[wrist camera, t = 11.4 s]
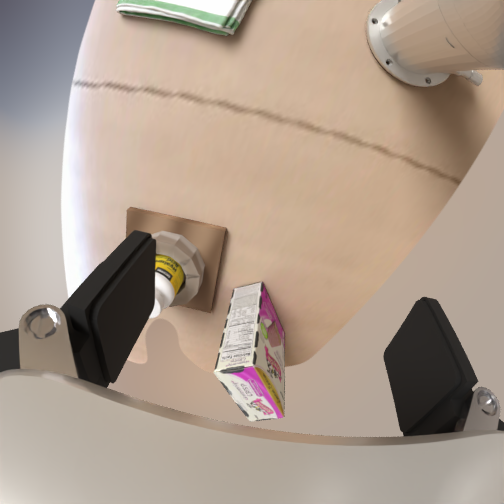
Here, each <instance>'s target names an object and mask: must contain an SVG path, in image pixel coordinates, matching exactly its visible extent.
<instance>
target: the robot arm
mask: <svg viewBox="0 0 504 504" xmlns="http://www.w3.org/2000/svg"><path fill="white" fill-rule="evenodd" d="M372 22H374V24H373V23H372ZM366 35H367V40H368V43H369V46H370V49H371V51H372V52H373V54H374V56H375V58H376V59H377V60H378V62H379V63H380V64H381V66H382V67H383V68H384V69H385V70H386V71H387V72H389V73H390V74H391V75H393V76H394V77H395V78H397V79H399V80H400V81H402V82H404V83H407V84H410V85H412V86H419V87H429V86H435V85H438V84H440V83H442V82H444V81H445V80H446V79H447V78H448V77H449V76H450V75H451V74H455V75H457V76H461V75H462V76H463V77H465V78H466V79H467V80H468V81H470V82H471V83H473V84H474V85H476V86H479V85H480V84H481V83H482V79H483V77H482V75H481V74H480V73H479V72H477V71H476V70H497V69H499V70H504V0H381V1H380V2H379V3H377V4H376V5H375V6H374V7H373V8H372V9H371V11H370V13H369V15H368V18H367V21H366ZM386 61H387V62H388V65H387V64H386ZM425 79H426V81H425ZM155 267H156V239H153V238H152V235H151V233H147V232H142V231H138V230H134V231H133V232H132V233H131V234H130V235H129V236H128V237H127V238H126V239H125V240H124V241H123V242H122V243H121V244H120V245H119V246H118V247H117V248H116V249H115V250H114V251H113V252H112V253H111V254H110V255H109V256H108V257H107V259H106V260H105V261H104V262H102V263H100V264H99V265H98V266H97V267H96V269H95V270H94V271H93V272H92V273H91V274H90V275H89V276H88V277H87V278H86V280H85V281H84V282H83V283H82V284H81V285H80V286H79V287H78V289H77V290H76V291H75V292H74V293H73V294H72V295H71V297H70V298H69V299H68V300H67V301H66V302H65V304H64V305H63V306H62V307H61V308H60V309H59V308H57V307H56V306H53V305H38V306H35V307H33V308H31V309H29V310H28V311H27V312H26V313H25V314H24V315H23V316H22V318H21V320H20V323H19V328H18V329H14V330H10V331H5V332H1V333H0V504H504V422H503V421H501V420H500V419H499V416H500V405H499V401H498V399H497V397H496V396H495V395H494V394H493V393H492V392H491V391H490V390H489V389H487V388H484V387H478V388H477V389H476V390H475V391H474V392H473V391H472V387H473V386H474V385H475V384H476V383H477V382H478V380H477V377H476V375H475V373H474V370H473V368H472V366H471V364H470V362H469V360H468V358H467V355H466V353H465V351H464V349H463V348H462V345H461V343H460V341H459V339H458V337H457V335H456V333H455V331H454V330H453V328H452V326H451V324H450V322H449V320H448V318H447V317H446V315H445V313H444V311H443V309H442V308H441V306H440V304H439V303H438V301H437V300H436V299H432V298H427V297H422V298H421V299H420V300H418V301H416V303H415V304H414V306H413V308H412V309H411V311H410V313H409V314H408V316H407V318H406V319H405V321H404V322H403V324H402V325H401V327H400V329H399V330H398V332H397V333H396V335H395V336H394V338H393V339H392V341H391V342H390V344H389V345H388V347H387V348H386V350H385V352H384V362H385V365H386V370H387V373H388V378H389V382H390V386H391V390H392V394H393V399H394V402H395V408H396V412H397V417H398V422H399V426H400V430H401V431H402V432H403V435H404V436H403V437H341V436H323V435H310V434H299V433H291V432H283V431H275V430H268V429H261V428H255V427H249V426H243V425H238V424H233V423H228V422H223V421H218V420H214V419H209V418H205V417H201V416H196V415H192V414H188V413H185V412H181V411H178V410H174V409H171V408H167V407H163V406H160V405H157V404H153V403H149V402H147V401H144V400H140V399H137V398H134V397H131V396H128V395H125V394H123V393H119V392H117V391H114V390H111V389H108V388H107V387H108V385H109V383H110V382H111V383H114V382H115V381H116V380H117V378H118V376H119V374H120V372H121V370H122V368H123V366H124V364H125V362H126V360H127V358H128V356H129V354H130V352H131V350H132V348H133V347H134V345H135V343H136V341H137V339H138V337H139V335H140V333H141V331H142V330H143V328H144V326H145V324H146V322H147V320H148V319H149V317H150V315H151V313H152V311H153V309H154V305H155Z"/></svg>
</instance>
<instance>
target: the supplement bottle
mask: <svg viewBox="0 0 504 504" xmlns="http://www.w3.org/2000/svg"><path fill="white" fill-rule="evenodd" d="M185 276H186V275H185V273H184V271H183V269H182V267H181V265H180V264H179V263H178V262H176V261H175V260H174V259H173V258H171V257H170V256H166V255H162V254H158V253H157V254H156V267H155V305H154V309H153V311H152V313H151V315H150V317H149V318H155V317H157V316H158V315H159V314H160V313H161V311H162V309H165V308H167V307H168V306H170V304H171V303H172V302H173V300H174V298H175V296H176V294H177V292H178V290H179V288H180V286H181V284H182V282H183V280H184V278H185Z"/></svg>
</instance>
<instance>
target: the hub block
mask: <svg viewBox="0 0 504 504" xmlns="http://www.w3.org/2000/svg"><path fill="white" fill-rule="evenodd" d="M134 230H138V231H142V232H147V233H151V235H152V238H153V239H156V254H157V253H158V254H162V255H166V256H170V257H171V258H173V259H174V260H175V261H176V262H178V263H179V264H180V265H181V267H182V269H183V271H184V273H185V275H186V276H185V278H184V280H183V282H182V284H181V286H180V288H179V290H178V292H177V294H176V296H175V298H174V300H173V302H172V303H171V304H170V306H169V307H172V306H177V305H181V306H185V307H189V308H193V309H196V310H201V311H205V312H209V313H211V310H212V305H213V299H214V293H215V288H216V282H217V276H218V271H219V265H220V260H221V254H222V249H223V243H224V238H225V233H226V228H225V227H220V226H216V225H211V224H207V223H202V222H198V221H193V220H189V219H184V218H180V217H175V216H170V215H166V214H161V213H157V212H152V211H147V210H142V209H138V208H133V207H130V208H129V209H128V210H127V224H126V238H127V237H128V236H129V235H130V234H131V233H132V232H133V231H134Z"/></svg>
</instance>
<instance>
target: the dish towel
mask: <svg viewBox="0 0 504 504" xmlns="http://www.w3.org/2000/svg"><path fill="white" fill-rule="evenodd" d="M251 2H252V0H119V2H118V4H117V6H116V8H117V10H116V11H117V13H119V14H124V15H129V16H136V17H141V18H149V19H157V20H163V21H169V22H174V23H178V24H182V25H187V26H191V27H194V28H197V29H200V30H204V31H208V32H211V33H214V34H221V35H225V36H228V34H231V35H233V34H234V31H235V30H236V29H237V27H238V26H239V24H240V22H241V20H242V18H243V17H244V14H245V12H246V11H247V9H248V7H249V5H250V3H251Z"/></svg>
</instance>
